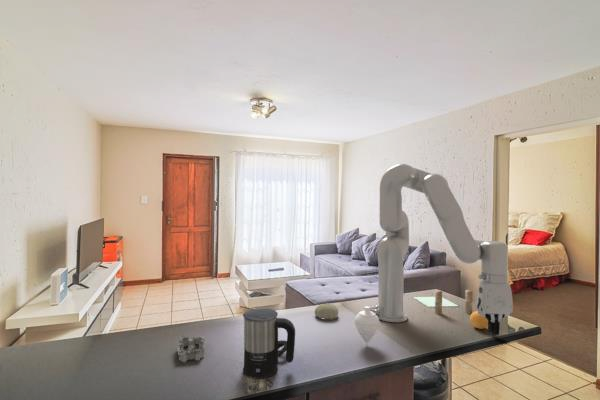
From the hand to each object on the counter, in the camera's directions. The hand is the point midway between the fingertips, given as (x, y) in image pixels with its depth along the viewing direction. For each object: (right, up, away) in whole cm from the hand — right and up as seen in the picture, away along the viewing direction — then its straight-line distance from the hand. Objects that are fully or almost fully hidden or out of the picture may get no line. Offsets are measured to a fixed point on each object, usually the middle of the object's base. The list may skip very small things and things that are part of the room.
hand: (493, 332), depth 108 cm
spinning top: (-44, -1, -8) cm, 45 cm away
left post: (-9, -2, +23) cm, 24 cm away
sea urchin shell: (-55, -1, +17) cm, 58 cm away
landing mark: (-4, -2, +38) cm, 39 cm away
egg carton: (-97, -1, -14) cm, 98 cm away
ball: (-1, +1, +8) cm, 8 cm away
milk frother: (-74, -1, -19) cm, 77 cm away
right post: (+4, -2, +24) cm, 24 cm away
